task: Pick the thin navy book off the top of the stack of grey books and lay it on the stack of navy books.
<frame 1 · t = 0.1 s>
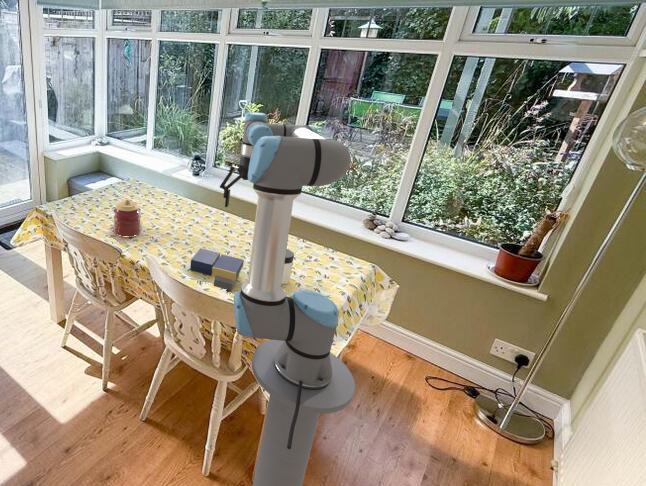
hand: (244, 209, 158), 28 cm above the table, tool pointing down, fingers open, 13 cm apart
navy stack: (205, 266, 172), on the table
grey stack: (226, 281, 161), on the table
kitchen canister: (127, 233, 201), on the table
jar: (278, 279, 164), on the table
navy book: (227, 270, 160), point 5 cm above the table, touching grey stack
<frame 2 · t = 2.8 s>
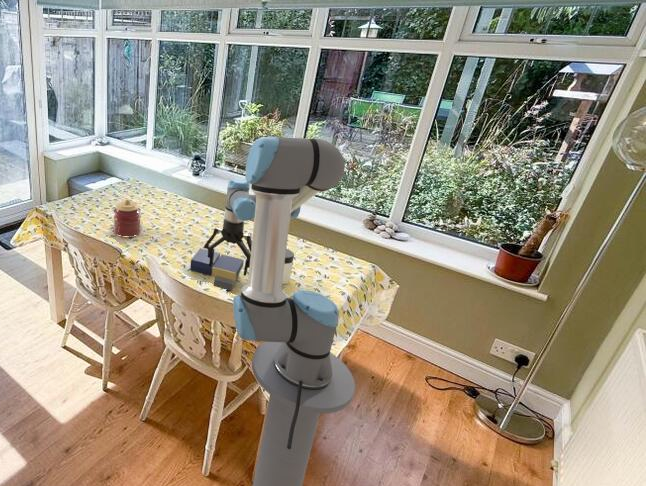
hand: (227, 269, 160), 5 cm above the table, tool pointing down, fingers open, 13 cm apart
nothing on the table moved.
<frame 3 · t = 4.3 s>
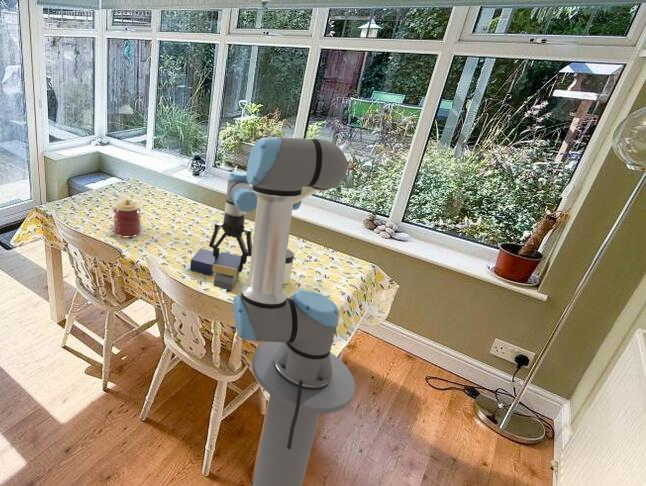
hand: (228, 267, 159), 6 cm above the table, tool pointing down, fingers closed on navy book, 9 cm apart
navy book: (228, 267, 158), point 7 cm above the table, touching gripper
everything else where it was.
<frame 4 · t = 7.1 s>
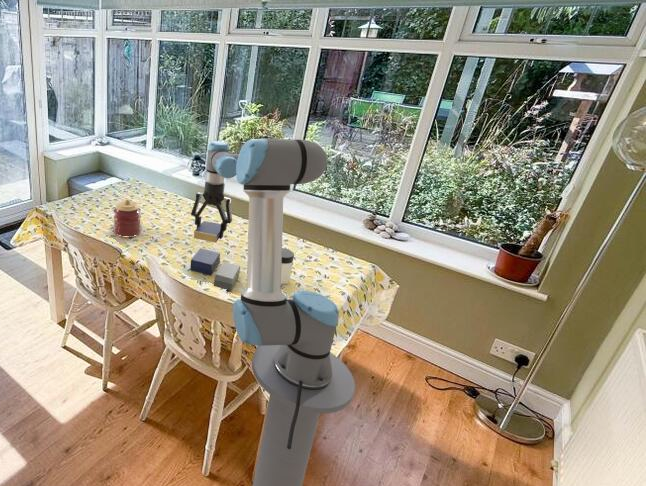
hand: (209, 234, 166), 15 cm above the table, tool pointing down, fingers closed on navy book, 9 cm apart
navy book: (209, 234, 166), point 15 cm above the table, touching gripper
everything else where it was.
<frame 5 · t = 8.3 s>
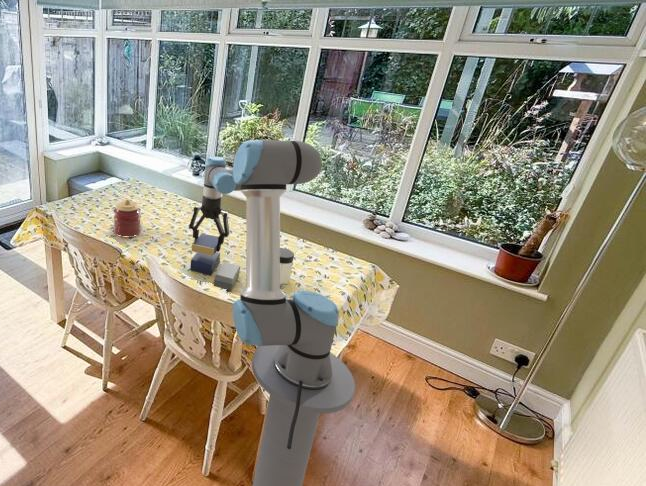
hand: (207, 247, 169), 9 cm above the table, tool pointing down, fingers closed on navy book, 9 cm apart
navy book: (207, 247, 168), point 9 cm above the table, touching gripper
everything else where it was.
when the fingers open (4 cm above the table, at t = 9.7 s): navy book stays where it is, resting on navy stack.
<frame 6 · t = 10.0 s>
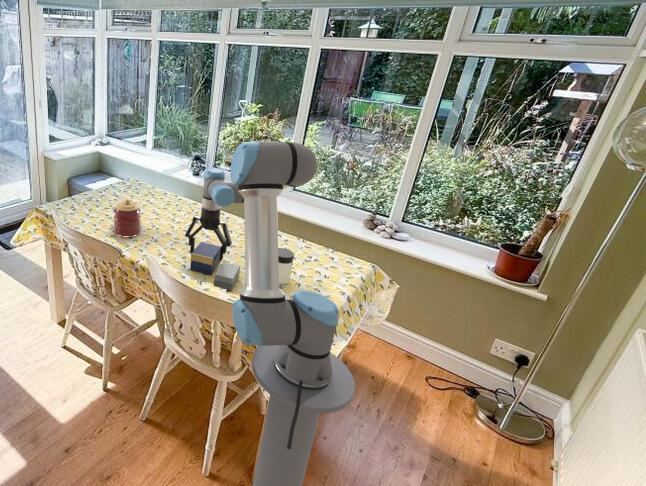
hand: (206, 256, 170), 5 cm above the table, tool pointing down, fingers open, 12 cm apart
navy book: (206, 256, 170), point 5 cm above the table, touching navy stack
everything else where it was.
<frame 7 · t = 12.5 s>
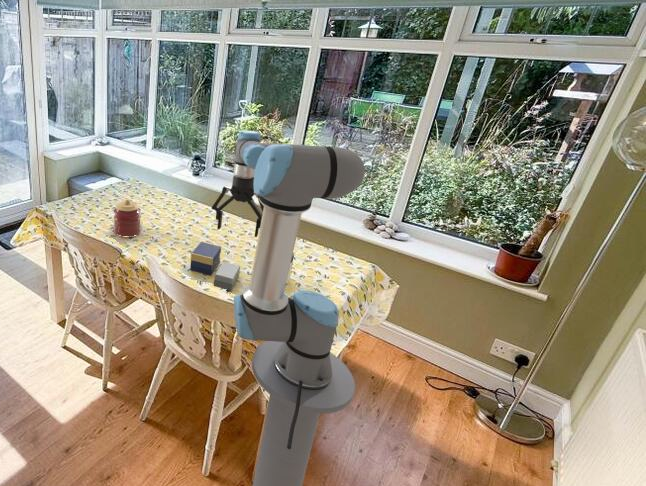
hand: (237, 232, 150), 23 cm above the table, tool pointing down, fingers open, 13 cm apart
nothing on the table moved.
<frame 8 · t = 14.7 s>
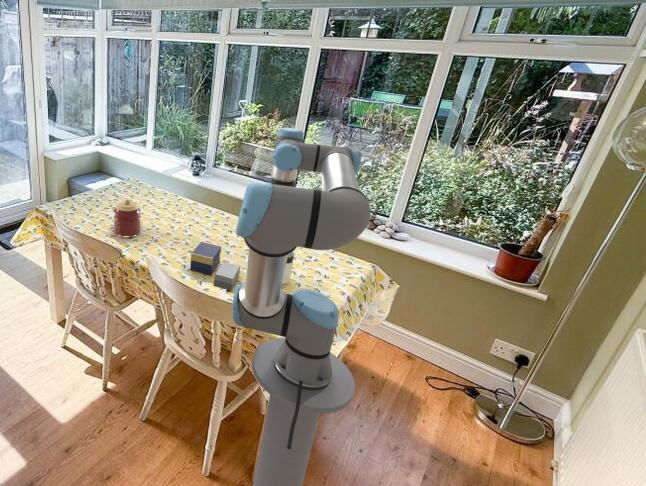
hand: (273, 240, 135), 27 cm above the table, tool pointing down, fingers open, 13 cm apart
nothing on the table moved.
at the end: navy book 0.2 cm off-centre on the navy stack, point 5.0 cm above the navy stack's base; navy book tilted 0°; the gripper is holding nothing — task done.
